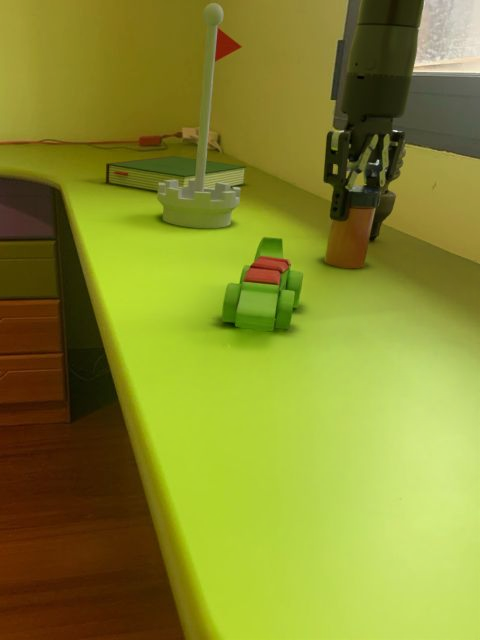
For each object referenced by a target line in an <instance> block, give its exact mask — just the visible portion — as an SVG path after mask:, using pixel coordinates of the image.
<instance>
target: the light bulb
mask: <svg viewBox="0 0 480 640" xmlns="http://www.w3.org/2000/svg"><path fill="white" fill-rule="evenodd" d="M405 147H406V140H405V139H404V141H403V145H402V148H401V152H400V155H399V159H398V162H397V166H396V169H395V173H394V176H393V179H392V180H391V181H388V180H387V181H385V184H384V186H383V187H381V188H380V190H381V200H380V204H379V205H378V206H377V207H376V212H375V215H374V218H373V223H372V228H371V233H370V238H369V242H374V241H375V240H376V238H377V237H379V236H380V230H381V227H382V225H383V222H384V221H385V220H386V219H387V218H388V217H390V215H391V214H392V212H393V210H394V206H395V202H396V198H397V194H396V193H395V192H393V191H392V190H390V189H389V186H390V183H392V182H393V181H395V180H397V179H398V178H399V177H400V176H401V168H402V167H403V165H404V160H403V159H404V157H405V156H406V154H407V150H406V149H405ZM389 150H391V149H389ZM389 162H390V160H388V165H389ZM387 169H388V166H387V167H386V168H385V170H387ZM372 173H373V170H372Z"/></svg>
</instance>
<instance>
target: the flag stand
mask: <svg viewBox="0 0 480 640" xmlns="http://www.w3.org/2000/svg"><path fill="white" fill-rule="evenodd" d="M202 19H203V22H204V24H205V25H206V35H205V48H204V60H203V72H202V84H201V85H202V87H201V100H200V111H199V124H198V135H197V136H198V137H197V148H196V149H197V150H196V159H197V161H196V174H195V180H189V181H188V187H178V183H179V181H178V180H165V181H164V183H158V192H157V197H156V199H157V201H158V202H159V203H160V204H161V205H162V220H163V221H164V222H166V223H168V224H171V225H175V226H179V227H185V228H186V227H187V228H196V229H217V228H218V229H219V228H226V227H228V226H230V225H231V221H232V213H233V211H234V210H235V209H237V207H238V206H239V205H240V199H241V191H242V190H241V187H240V186H235V187H231V184H227V183H221V182H216V183H215V189H212V188H204V181H205V170H206V161H207V155H208V143H209V134H210V133H209V132H210V123H211V122H210V121H211V111H212V97H213V88H214V87H213V86H214V73H215V64H216V63H215V62H218V61H219V60H221V59H223V58H225V57H227V56H228V55H230V54H232V53H234V52H236V51H238V50H239V49H241V48H243V46H242V45H241V44H239V42H237V41H235V40H234V39H233V38H232V37H230V36H229V35H228V34H227V33H225V32H224V31H223V30H221V28H219V25H221V23H222V22H223V20H224V10H223V8H222V6H221V5H220V4H218V3H216V2H211V3H209V4H207V5H206V6H205V7H204V9H203V11H202Z"/></svg>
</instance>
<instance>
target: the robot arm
mask: <svg viewBox="0 0 480 640" xmlns="http://www.w3.org/2000/svg"><path fill="white" fill-rule="evenodd" d="M425 3H426V0H360V3H359V8H358V15H357V21H356V27H355V30H354V34H353V37H352V41H351V45H350V49H349V54H348V60H347V67H346V72H345V78H344V85H343V90H342V97H341V102H340V111H341V113H343V114H345V115H346V116H347V118H346V121H345V125H344V126H343V129H342V130H340V131H339V130H336V131H335V130H329V131H328V132H327V134H326V139H325V153H324V164H323V165H324V168H323V179H322V180H323V181H322V182H323V183H324V184H329V185H330V186H331V187H332V188H333V190H332V194H333V197H332V196H331V203H330V209H329V218H330V220H331V219H332V220H336V221H346V220H347V218H348V213H349V207H350V202H351V196H352V191H350V190H351V189H352V187H353V185H355V182H356V180H357V178H358V175H360V174H362V173H363V183H364V184H362V186H366V187H372V188H376V189H379V190H380V188H381V187H383V186H384V184H385V181H387V180H388V181H391V180H392V179H393V176H394V173H395V169H396V166H397V162H398V159H399V155H400V152H401V148H402V145H403V141H404V140H405V138H406V132H405V131H401V130H394V129H393V127H394V126H393V121H394V119H400V118H402V117H403V116H404V114H405V111H406V108H407V103H408V97H409V92H410V88H411V83H412V78H413V73H414V68H415V64H416V58H417V54H418V44H419V34H420V27H421V23H422V17H423V13H424V8H425ZM389 149H391V150H389ZM388 160H390V162H389V165H388ZM334 165H335V167H336V169H335V170H334ZM387 166H388V169H387V170H385V168H386V167H387ZM372 170H373V173H372ZM334 171H335V172H334ZM348 172H349V173H348ZM347 174H348V175H347ZM391 182H392V181H391ZM375 207H377V206H375ZM375 212H376V208H375ZM374 215H375V213H374Z"/></svg>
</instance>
